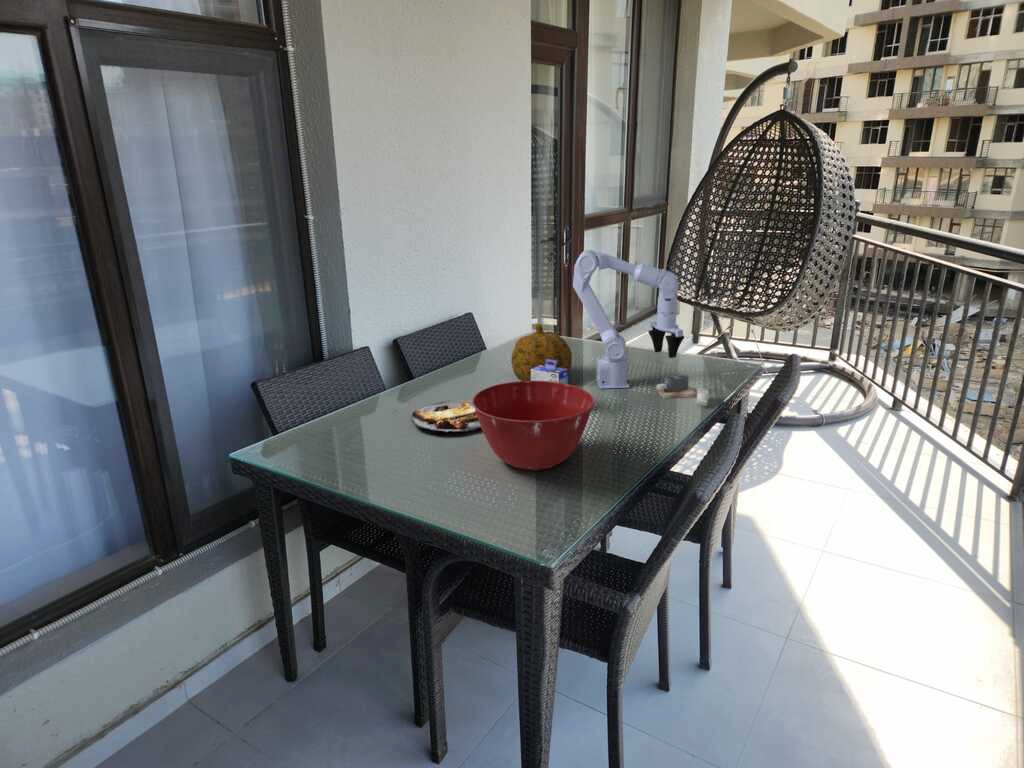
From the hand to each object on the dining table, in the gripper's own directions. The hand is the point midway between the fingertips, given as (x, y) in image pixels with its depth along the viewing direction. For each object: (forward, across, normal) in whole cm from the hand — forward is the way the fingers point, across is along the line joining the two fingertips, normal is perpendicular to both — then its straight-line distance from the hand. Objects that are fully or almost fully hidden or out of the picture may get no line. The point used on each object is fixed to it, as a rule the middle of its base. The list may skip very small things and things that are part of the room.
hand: (665, 354), depth 202 cm
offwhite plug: (+10, -18, -1) cm, 21 cm away
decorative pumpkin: (+10, +23, +32) cm, 41 cm away
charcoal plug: (+9, -7, +2) cm, 12 cm away
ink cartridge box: (+10, -3, +42) cm, 43 cm away
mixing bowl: (+10, -33, +60) cm, 70 cm away
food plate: (+11, 0, +69) cm, 70 cm away
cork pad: (+10, -7, +1) cm, 13 cm away
